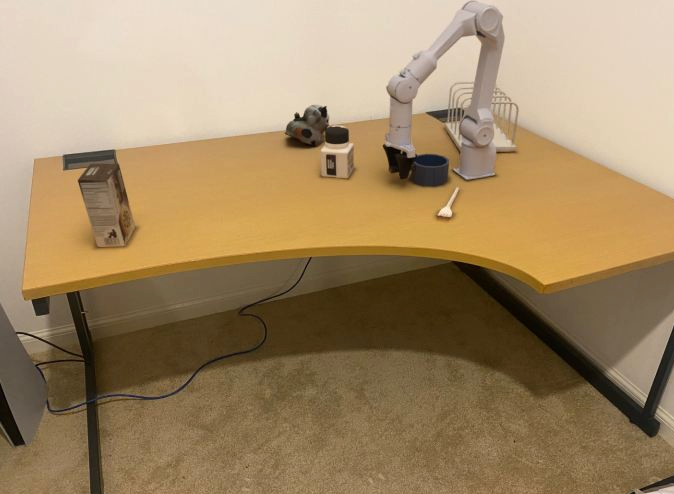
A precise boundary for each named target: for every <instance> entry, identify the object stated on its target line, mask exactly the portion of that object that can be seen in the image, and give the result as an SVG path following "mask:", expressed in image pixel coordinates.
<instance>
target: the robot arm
mask: <svg viewBox="0 0 674 494" xmlns="http://www.w3.org/2000/svg"><path fill="white" fill-rule="evenodd" d="M503 19H504V15H503V14H502V12H501V11H500V10H499V9H498V7H497V6H495V5H494V4H487V3H483V2H479V1H477V0H469V1H467V2H465V3H464V4H463V5H462V7H461V8H459V9H458V10H457V11H456V12H455V14H454V16H453V18H452V20H451V21H450V22H449V24H448V25H447V26H446V27H445V28H444V29H443V31H442V32H441V33H440V34H439V35H438V37H437V38H436V39H435V40H434V42H432V44H431V45H430V47H429V48H428V49H427V50H420V51H418V52H415V53H414V54H413V55H412V59H411V61H409V62H408V64H407V65H405V67H404V68H401V69H400V70H399V73H398V74H396V75H393V76H392V77H390V78H389V80H388V84H387V85H386V86H385V88H386V92H387V94H388V95H389V120H388V121H389V126H388V127H389V128H388V131H389V132H386V133H385V134H384V137H385V138H384V141H385V142H384V144H382V149H383V150H384V153H385V155H386V159H387V163H388V168H389V167H392V166H398V167H399V172H398V176H399V179H400V180H407V179H409V176H410V174H411V167H412V165H413V163H414V161H415V160H416V158H417V155H418V154H417V153H416V151H417V150H416V149H415V147H414V144H413V141H412V122H413V100H414V99H416V98H417V96H418V92H419V88H420V87H421V85H422V84H423V83H424V82H425V81H426V80H427V79H428V78H429V77H430V76H431V75H432V74H433V73H434V72H435V71H436V69H437V67H438V60H440V58H442V56H444V55H445V53H447V52H448V51H449V50H450V49H451V48H452V47H453V46H454V45H455V44H457V42H458V41H459V40H460V39H462V38H464V37H472V36H475V37H476V39H478V40H479V42H480V43H481V45H480V51H479V55H478V62H477V65H476V66H477V67H476V71H475V76H474V81H473V82H474V84H473V86H472V87H473V89H472V91H473V93H472V94H471V97H472V98H471V99H470V103H469V104H470V106H469V107H468V106H467V107H468V108H467V107H466V109H465V110H464V111H463V114H462V119H461V121H460V120H459V122H460V123H459V122H458V123H459V127H458V129H459V133H460V134H461V135H462V144H461V152H460V154H459V155H460V156H459V165H458V167H455V168H452V171H453V172H455V173H456V174H457V175H459V176H460V177H462V178H463V179H464V180H466V181H471V180H476V179H482V178H487V177H493V176H496V173H495V168H496V167H495V166H496V158H497V152H496V147H495V145H494V143H493V142H492V140H493V137H494V127H493V124H494V122H495V117H494V118H493V112H492V110H491V109H492V108H491V107H492V104H491V103H492V102H493V99H494V98H493V96H494V95H495V93H494V91H495V90H496V88H495V84H496V83H497V78H498V73H499V68H500V63H501V59H502V53H503V49H504V44H505V39H506V37H505V32H504V31H505V30H504V26H503ZM496 85H497V84H496Z"/></svg>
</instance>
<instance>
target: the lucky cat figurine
mask: <svg viewBox="0 0 674 494" xmlns="http://www.w3.org/2000/svg"><path fill="white" fill-rule="evenodd" d="M293 116H294V118H293V119H292V120H291V121H289V122H288V123H287V125H286V127H285V132H284V135H286V136H288V137H290V138H293V139H296V140H299V142H302V143H304V144H308V145H310V146H311V145H312V146H313V147H317V146H319V145H320V144H321V143H322V142H323V135H324V133H325V130H326V128H328V127H330V123H329V121H330V115H329V114H328V108H327V105H324V106H322V105H320V104H311V105H309V106H308V107H305V109H304V112H303V115H302V116H300V113H299V112H297V111H296V112H295V113H294V115H293Z"/></svg>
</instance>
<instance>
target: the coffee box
mask: <svg viewBox="0 0 674 494" xmlns="http://www.w3.org/2000/svg"><path fill="white" fill-rule="evenodd" d="M77 183H78V187H79V190H80V193H81V197H82V199H83V203H84V206H85V210H86V213H87V216H88V220H89V224H90V227H91V231H92V233H93V237H94V240H95V245H96V247H97V248H111V247H112V248H115V247H117V248H118V247H126V245H127V244H128V242H129V240H130V239H131V236H132V234H133V233H134V231H135V229H136V224H135V221H134V217H133V214H132V209H131V206H130V202H129V197H128V193H127V189H126V185H125V181H124V178H123V174H122V171H121V167H120V163H90V164H89V165H88V166H87V167H86V169H85V170H84V171H83V172H82V174H81V175H80V176H79V178H78V179H77Z"/></svg>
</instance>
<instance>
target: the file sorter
mask: <svg viewBox="0 0 674 494" xmlns="http://www.w3.org/2000/svg"><path fill="white" fill-rule="evenodd" d="M474 82H475V81H456V82H453V84H451V86H450V88H449V94H448V95H449V97H448V106H447V107H448V109H447V121H446V122H444V129H445V130H446V132H447V133H448V135H449V137H450V139H451V140H452V141H453V143H454V144H455V146H456V148H457V150H458V151H459V152H460V153H461V144H462V135H461V134H460V133H459V129H458V127H459V123H460V121H461V119H462V118H463V107H464V104H465V103H466V101H469V100H471V98H472V96H468V97H465V98H464V99H463V100H462V102H461V103H460V110H459V100H460V98H461V97H462V96H463V95H472V93H473V87H474V86H461V87H457V88H456V89H455V90H454V91H453V88H454V87H455V86H456V85H465V84H466V85H467V84H469V85H470V84H473V85H474ZM461 90H471V91H462V92H461V93H459V94H458V95H457V98H456V94H457V92H458V91H461ZM452 91H453V94H452ZM498 93H499V95H498ZM455 98H456V102H455ZM503 98H504V101H502V99H503ZM492 99H494V100H493V101H492V103H491V105H493V109H492V115H493V118H494V119H495V113H496V112H495V111H496V105H498V109H497V116H496V122H495V121H494V124H493V127H494V137H493V140H492V142H493V143H494V145H495V147H496V153H504V152H505V153H506V152H507V153H508V152H511V153H513V152H516V150H517V145H516V144H514V143H515V137H516V132H517V125H518V118H519V111H520V109H519V105H518V104H517V103H516V102H514V101H513V100H512V99H511V97H510V96H508V95H507V94H506V92H504V91H503V90H502V89H501V88H500V87H499V86H498V85H497V84H495V89H494V95H493V98H492ZM497 99H499V101H497ZM507 99H508V101H507ZM501 105H503V112H502V122H501V128H500V127H499V122H500V113H501V107H502V106H501ZM507 105H509V109H508V118H507V127H506V134H505V133H504V126H505V118H506V110H507ZM513 105H514V106H515V108H516V111H515V117H514V125H513V133H512V137H511V138H512V139H510V138H509V133H510V126H511V124H510V123H511V118H512V117H511V116H512V110H513V109H512V108H513ZM469 106H470V103H469V105H467V107H466V109H467V108H468V107H469ZM454 107H455V108H454ZM454 111H455V112H454ZM458 111H459V122H458ZM454 113H455V115H454ZM450 116H451V119H450ZM454 117H455V118H454Z"/></svg>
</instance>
